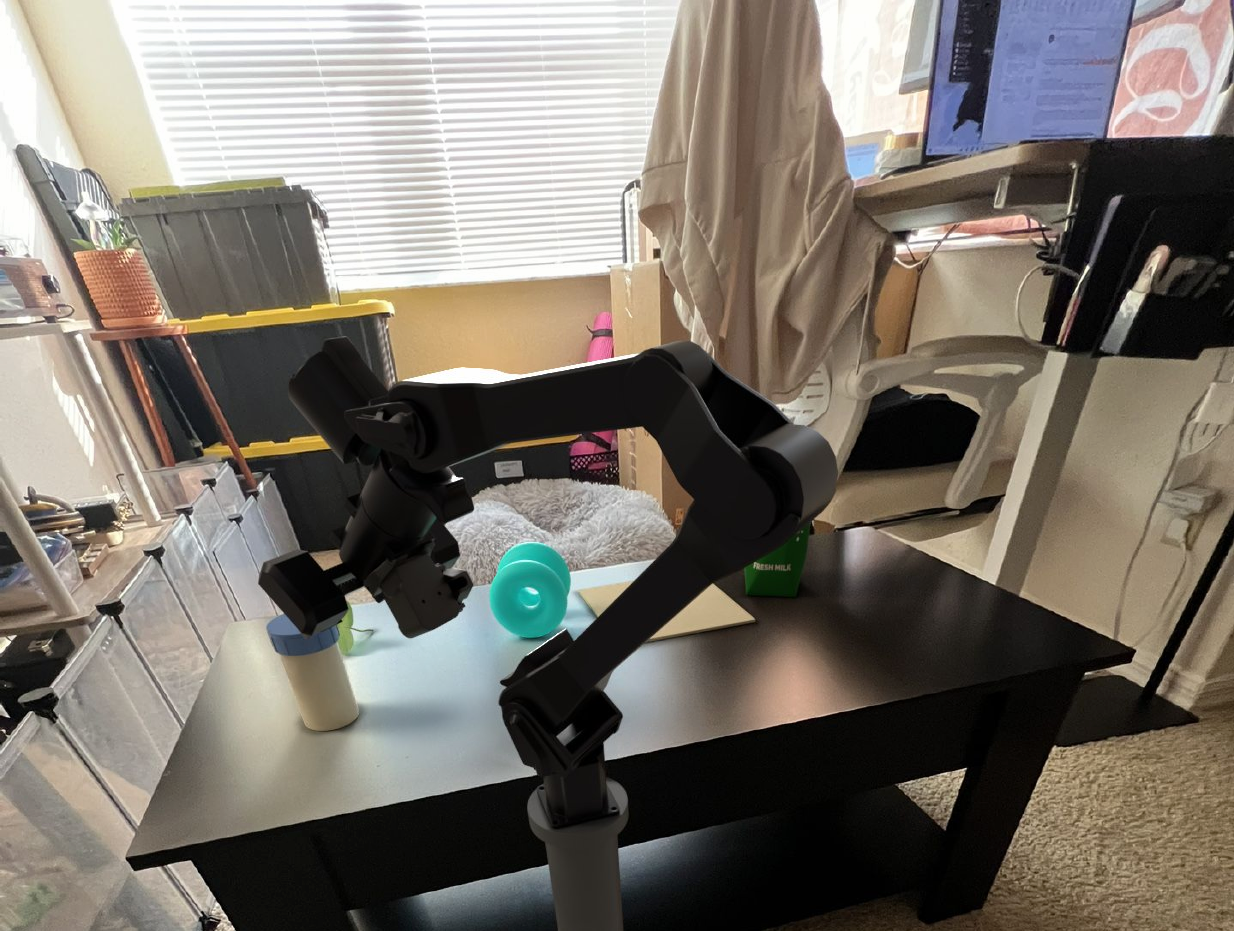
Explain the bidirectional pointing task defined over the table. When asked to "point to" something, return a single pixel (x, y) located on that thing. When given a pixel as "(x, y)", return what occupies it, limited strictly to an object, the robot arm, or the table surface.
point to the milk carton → (779, 568)
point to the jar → (322, 688)
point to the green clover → (347, 631)
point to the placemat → (696, 617)
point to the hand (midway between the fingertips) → (341, 616)
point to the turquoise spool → (522, 606)
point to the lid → (298, 638)
